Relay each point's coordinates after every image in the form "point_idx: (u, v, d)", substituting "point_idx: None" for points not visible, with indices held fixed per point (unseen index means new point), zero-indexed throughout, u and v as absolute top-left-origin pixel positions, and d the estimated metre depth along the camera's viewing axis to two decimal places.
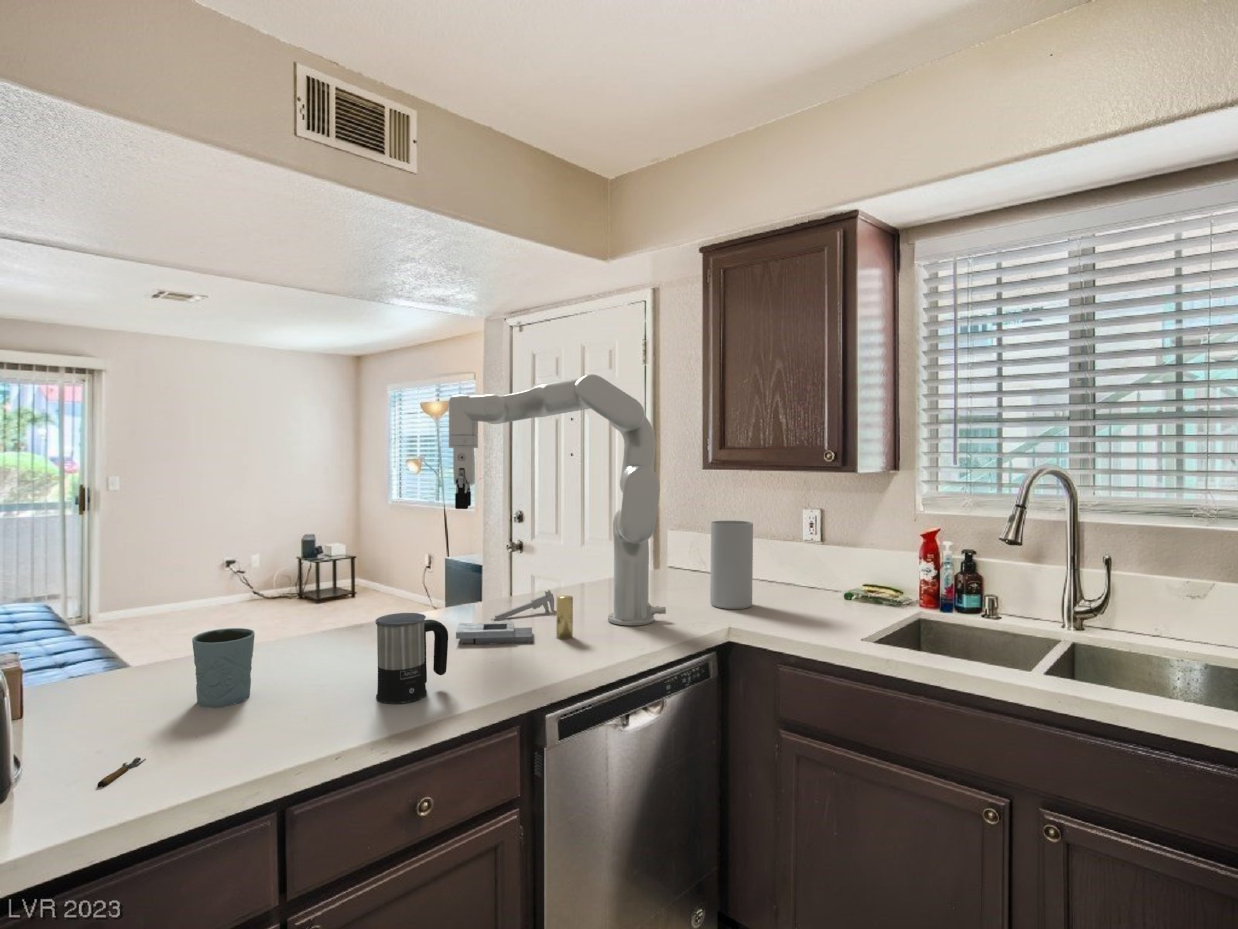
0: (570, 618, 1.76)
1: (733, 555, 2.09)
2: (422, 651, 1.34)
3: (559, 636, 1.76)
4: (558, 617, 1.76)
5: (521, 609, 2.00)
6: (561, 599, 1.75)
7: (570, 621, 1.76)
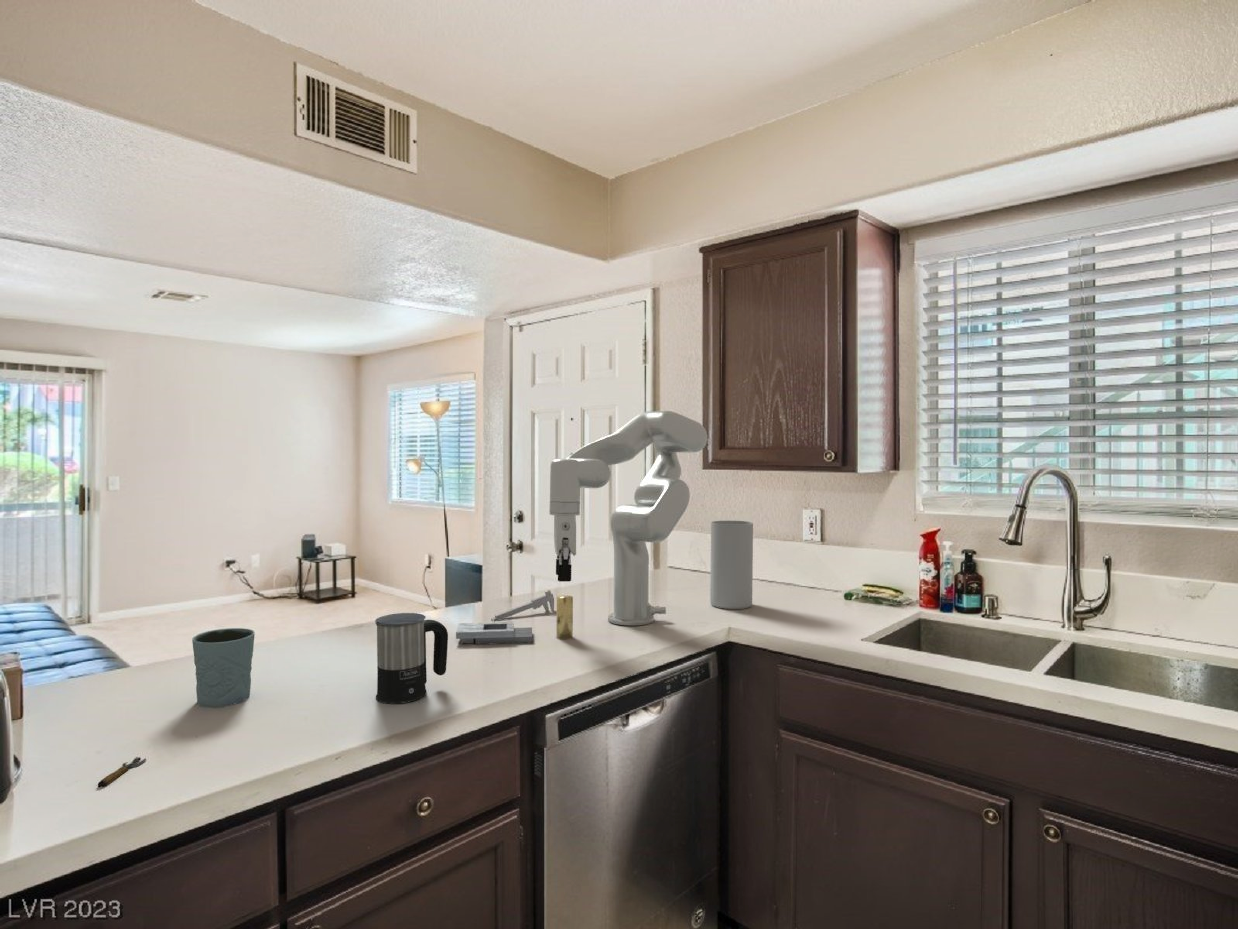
0: (570, 618, 1.76)
1: (733, 555, 2.09)
2: (422, 651, 1.34)
3: (559, 636, 1.76)
4: (558, 617, 1.76)
5: (521, 609, 2.00)
6: (561, 599, 1.75)
7: (570, 621, 1.76)
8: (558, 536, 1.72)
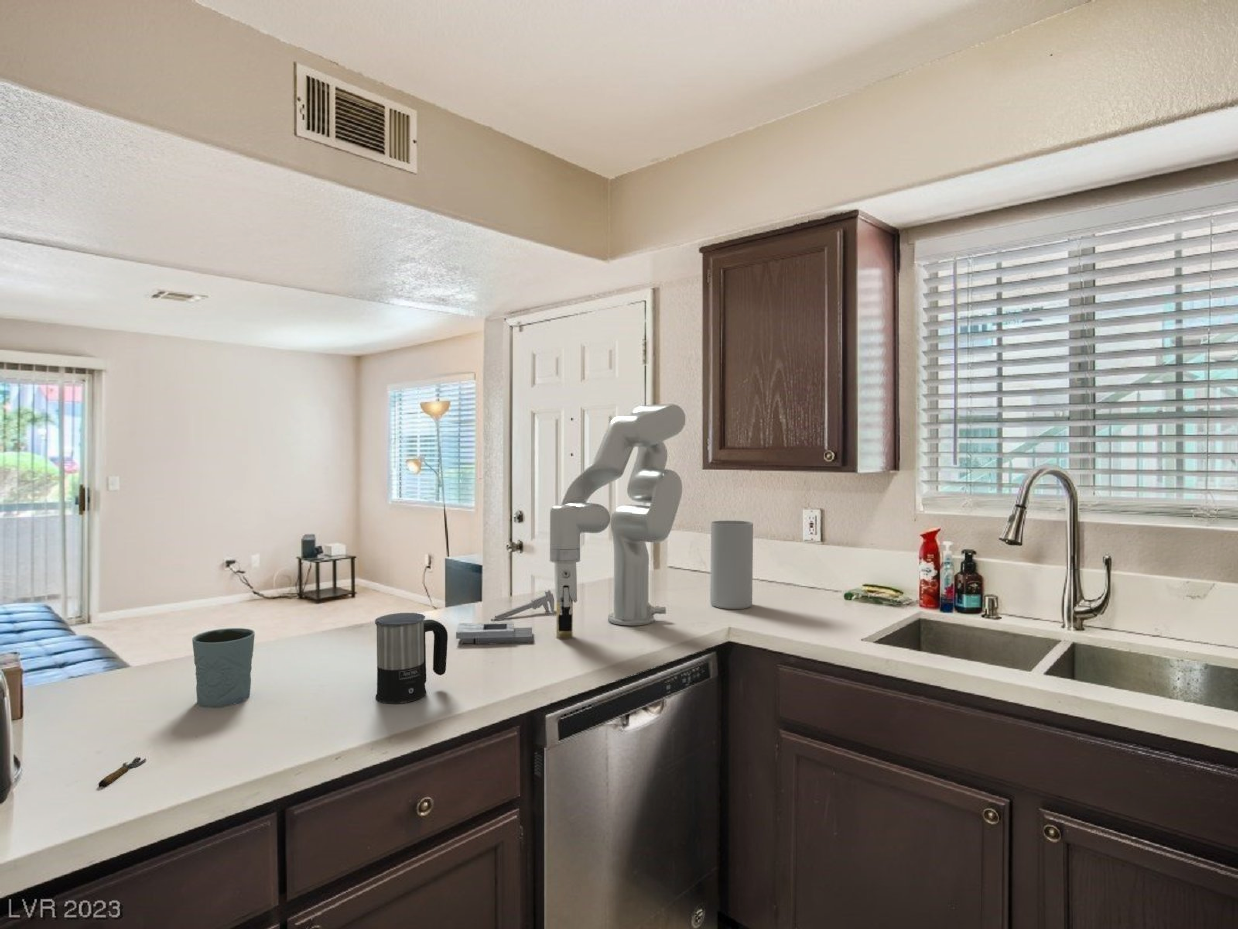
0: None
1: (733, 555, 2.09)
2: (421, 651, 1.34)
3: (559, 636, 1.76)
4: (558, 617, 1.76)
5: (521, 609, 2.00)
6: (561, 599, 1.75)
7: None
8: (559, 584, 1.72)
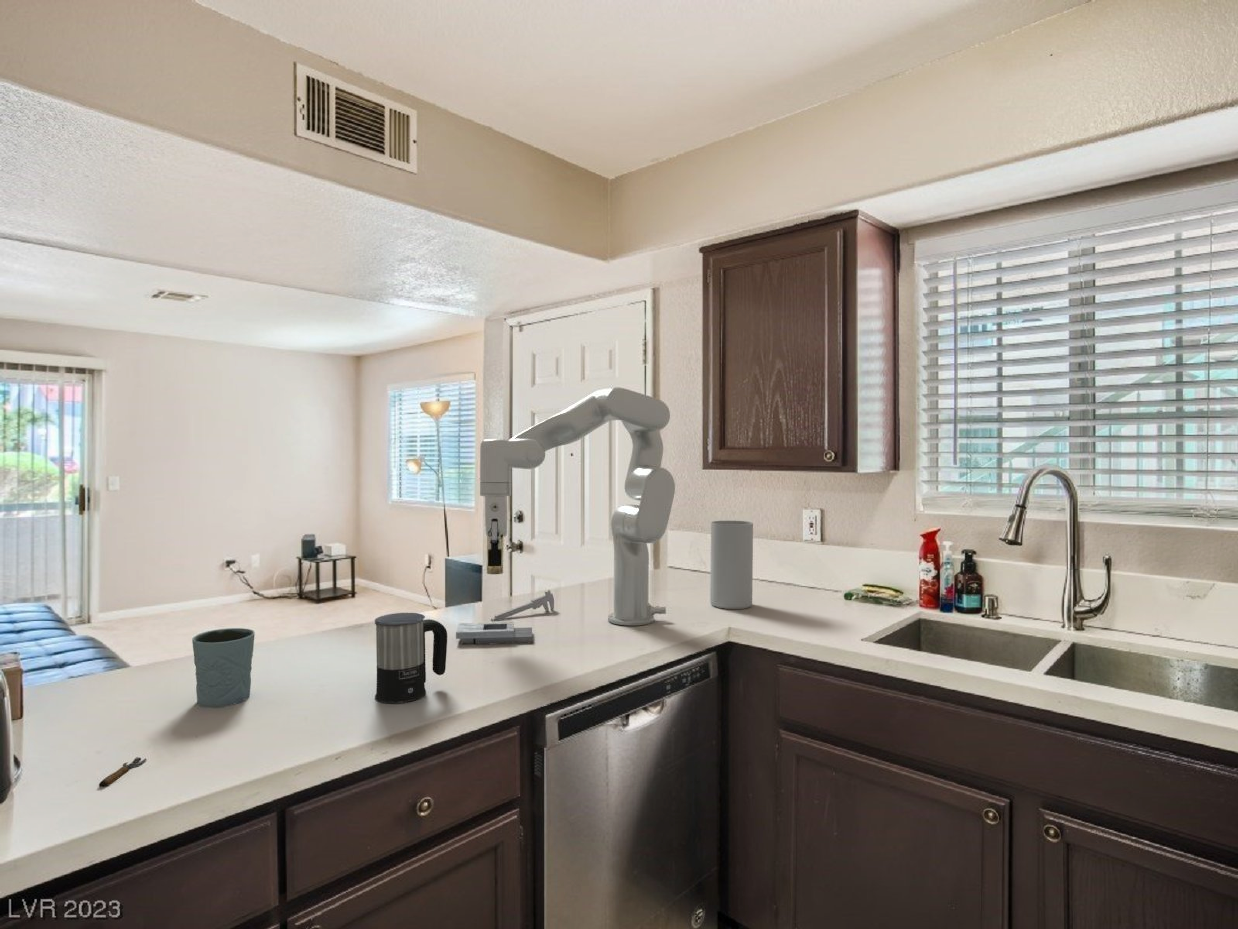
0: None
1: (733, 555, 2.09)
2: (421, 651, 1.34)
3: (489, 571, 1.73)
4: None
5: (521, 609, 1.99)
6: (491, 534, 1.73)
7: None
8: (487, 517, 1.69)
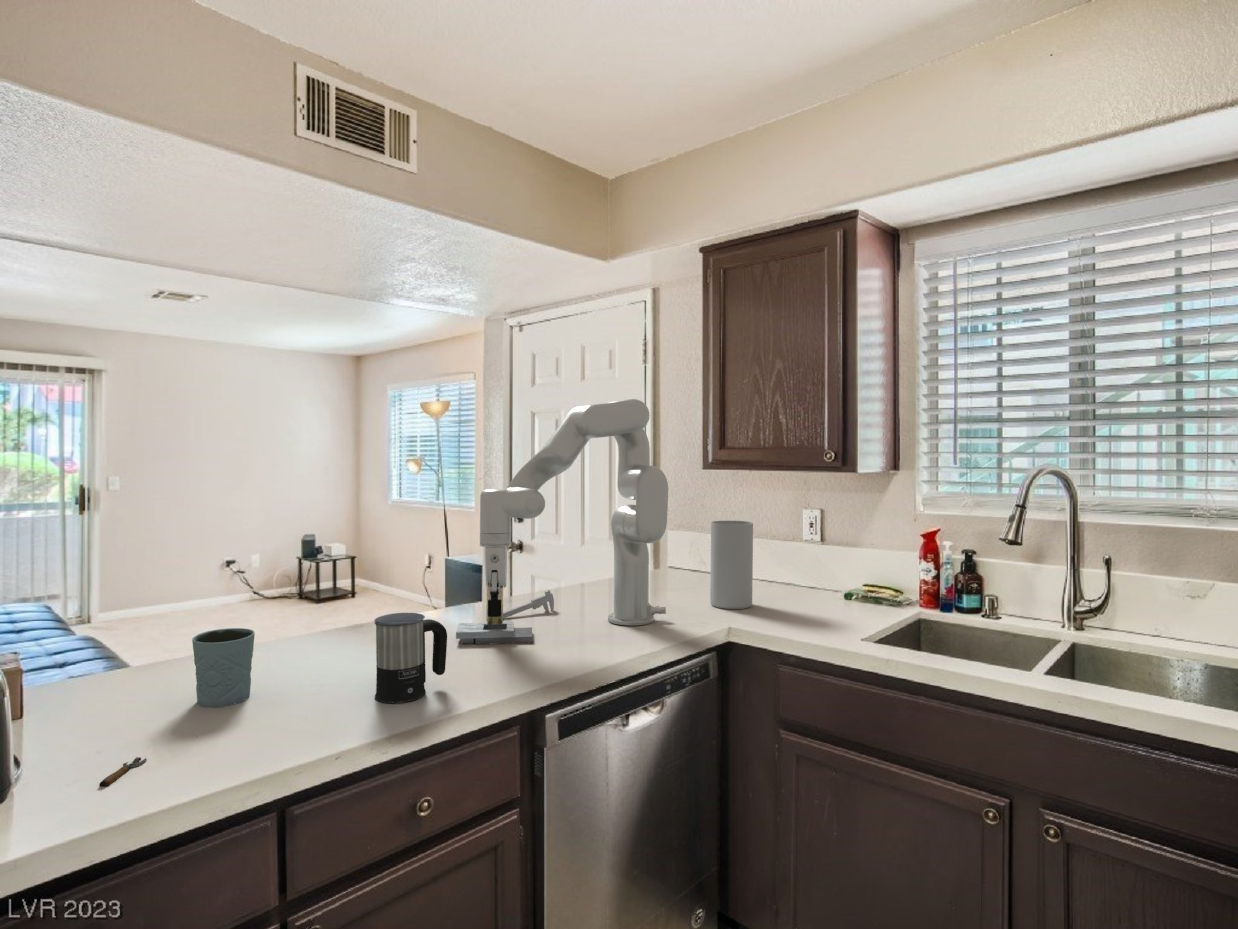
0: None
1: (733, 555, 2.09)
2: (421, 651, 1.34)
3: (488, 621, 1.73)
4: (487, 602, 1.73)
5: (521, 609, 1.99)
6: None
7: None
8: (487, 568, 1.70)
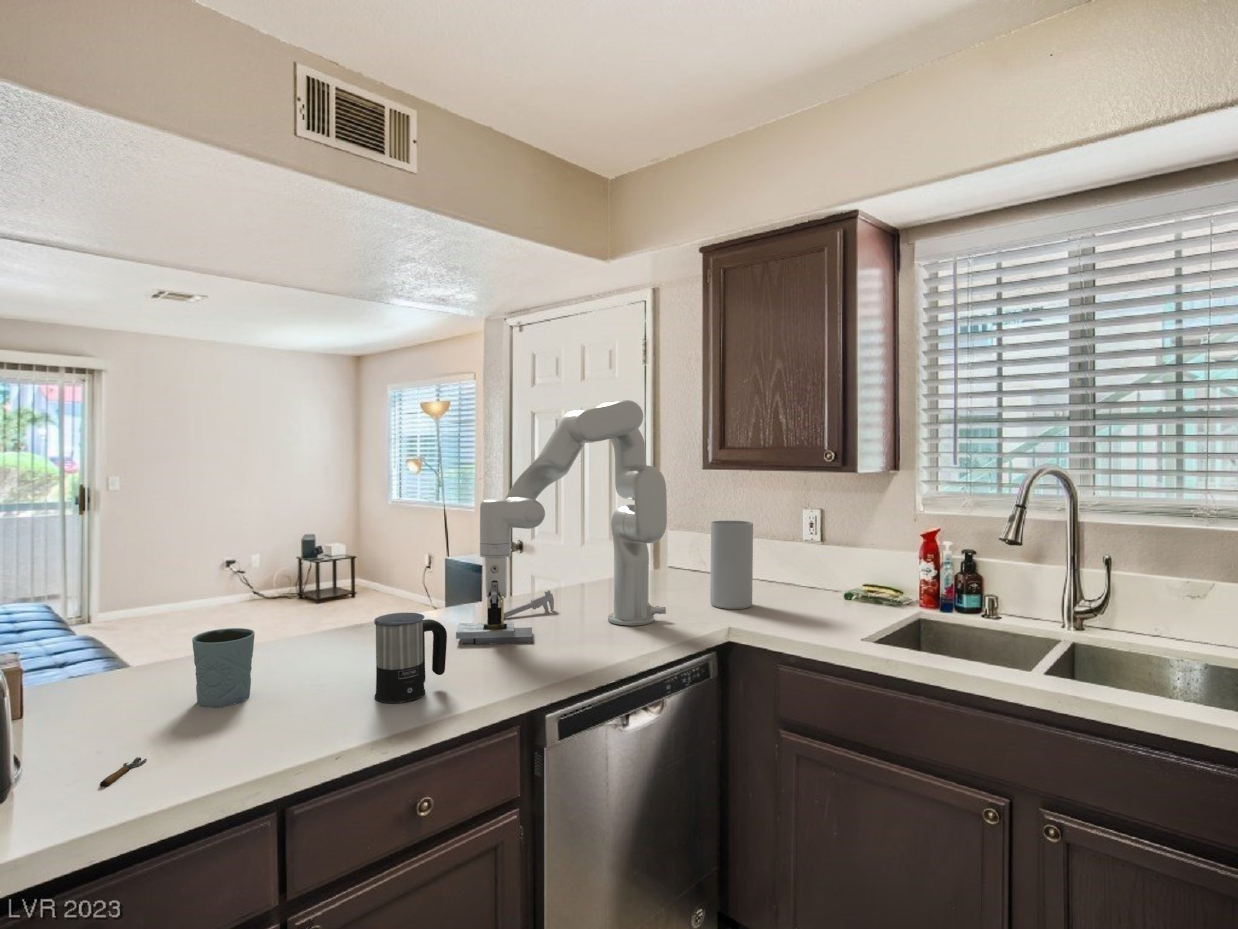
0: None
1: (733, 555, 2.09)
2: (420, 651, 1.34)
3: None
4: None
5: (520, 609, 1.99)
6: None
7: None
8: (487, 579, 1.70)
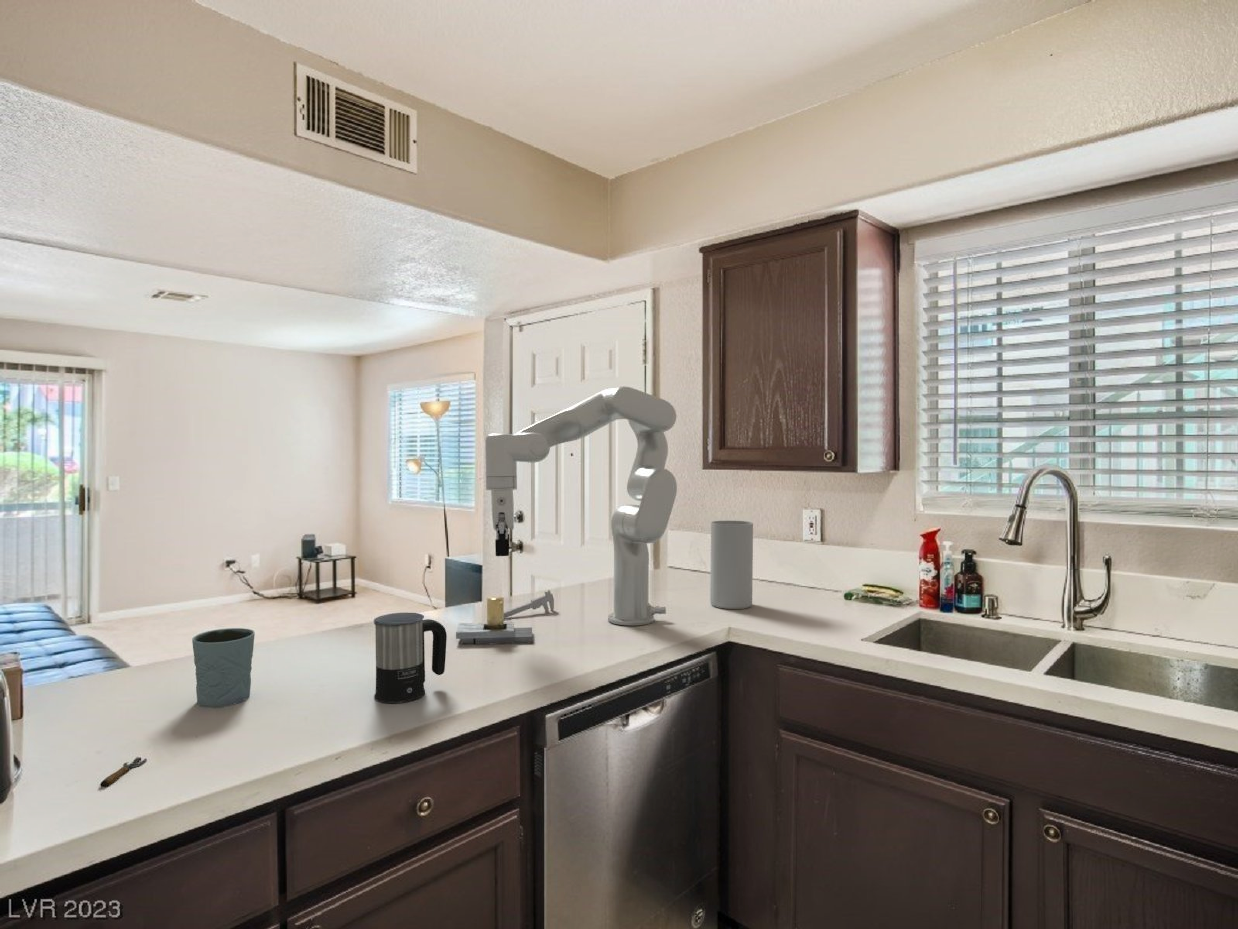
0: (500, 619, 1.74)
1: (733, 555, 2.09)
2: (420, 651, 1.34)
3: None
4: (488, 619, 1.74)
5: (520, 609, 1.99)
6: (491, 600, 1.73)
7: (500, 623, 1.74)
8: (494, 511, 1.71)
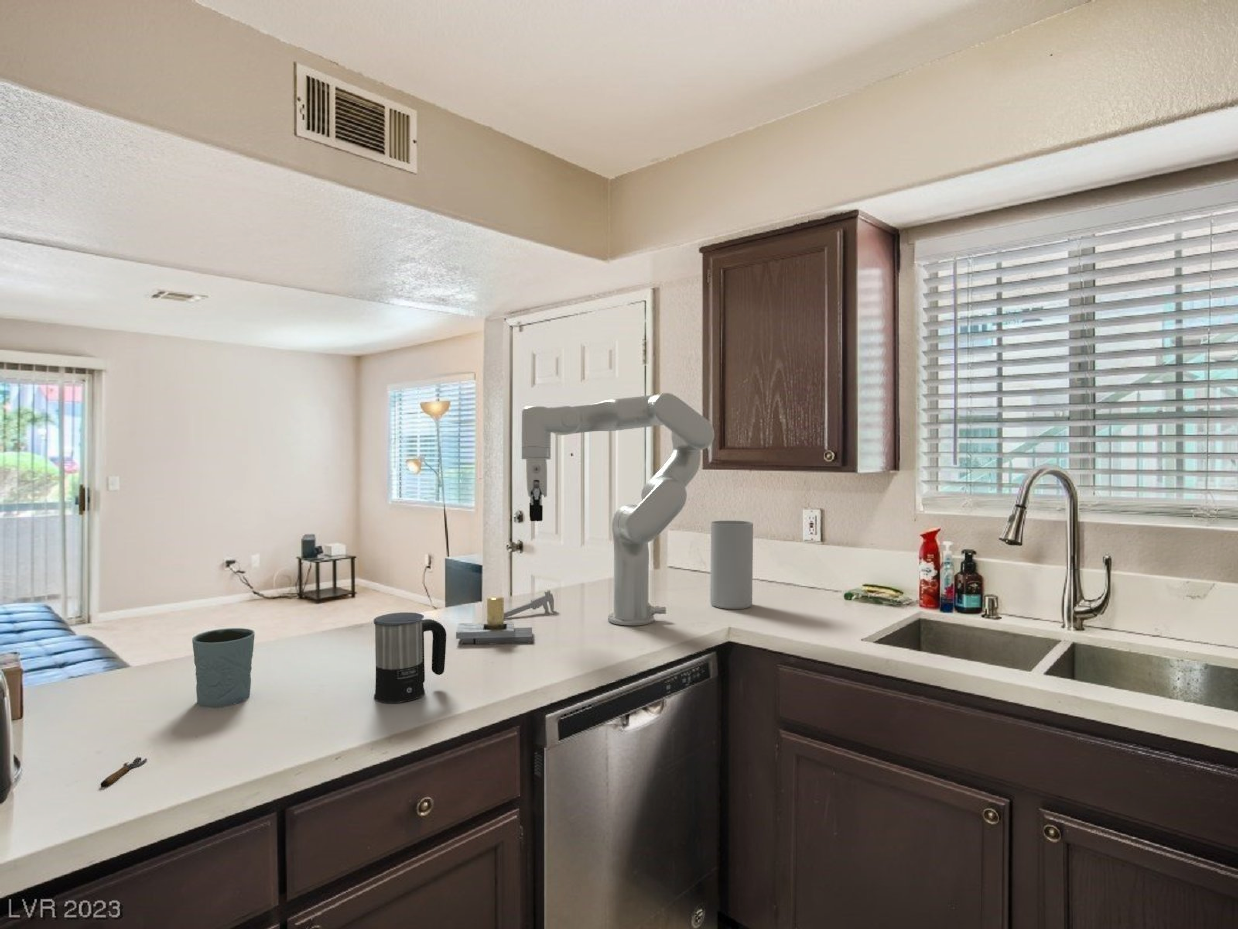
0: (500, 619, 1.74)
1: (733, 555, 2.09)
2: (420, 651, 1.34)
3: None
4: (488, 619, 1.74)
5: (520, 609, 1.99)
6: (491, 600, 1.73)
7: (500, 623, 1.74)
8: (529, 478, 1.82)
